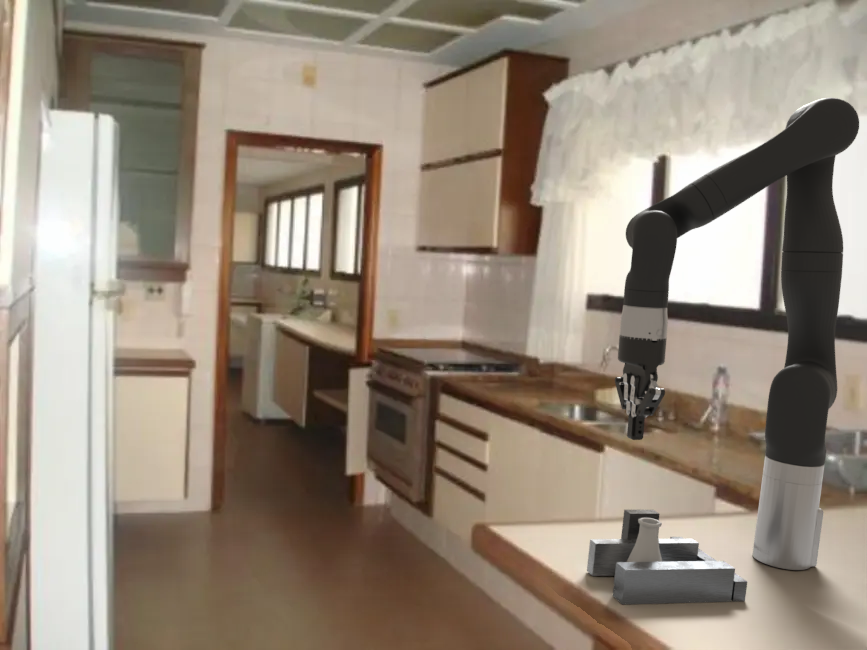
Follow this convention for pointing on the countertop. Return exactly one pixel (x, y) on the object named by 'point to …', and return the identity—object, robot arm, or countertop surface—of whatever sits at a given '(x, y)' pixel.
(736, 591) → the vise fixed
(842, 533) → the countertop surface
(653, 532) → the flask
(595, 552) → the vise jaw sliding
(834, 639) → the countertop surface
